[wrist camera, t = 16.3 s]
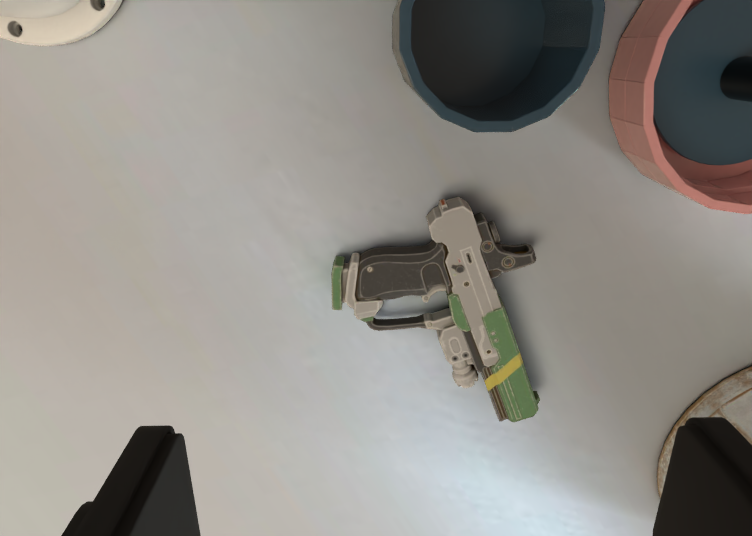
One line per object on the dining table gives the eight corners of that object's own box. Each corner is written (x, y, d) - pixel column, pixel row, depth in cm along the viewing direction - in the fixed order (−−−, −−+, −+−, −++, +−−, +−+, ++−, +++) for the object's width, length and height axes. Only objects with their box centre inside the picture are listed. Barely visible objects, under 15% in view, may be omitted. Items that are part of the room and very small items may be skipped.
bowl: (558, 77, 37) (589, 82, 32) (766, -121, 33) (839, -152, 28) (689, 234, 41) (735, 261, 36) (887, 75, 37) (971, 79, 32)
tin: (391, 114, 37) (398, 133, 30) (392, -59, 34) (400, -91, 26) (542, 113, 38) (588, 131, 30) (559, -60, 34) (618, -92, 26)
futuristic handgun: (400, 458, 45) (582, 404, 43) (306, 258, 38) (516, 181, 36) (399, 435, 48) (571, 383, 45) (311, 244, 41) (507, 172, 39)
